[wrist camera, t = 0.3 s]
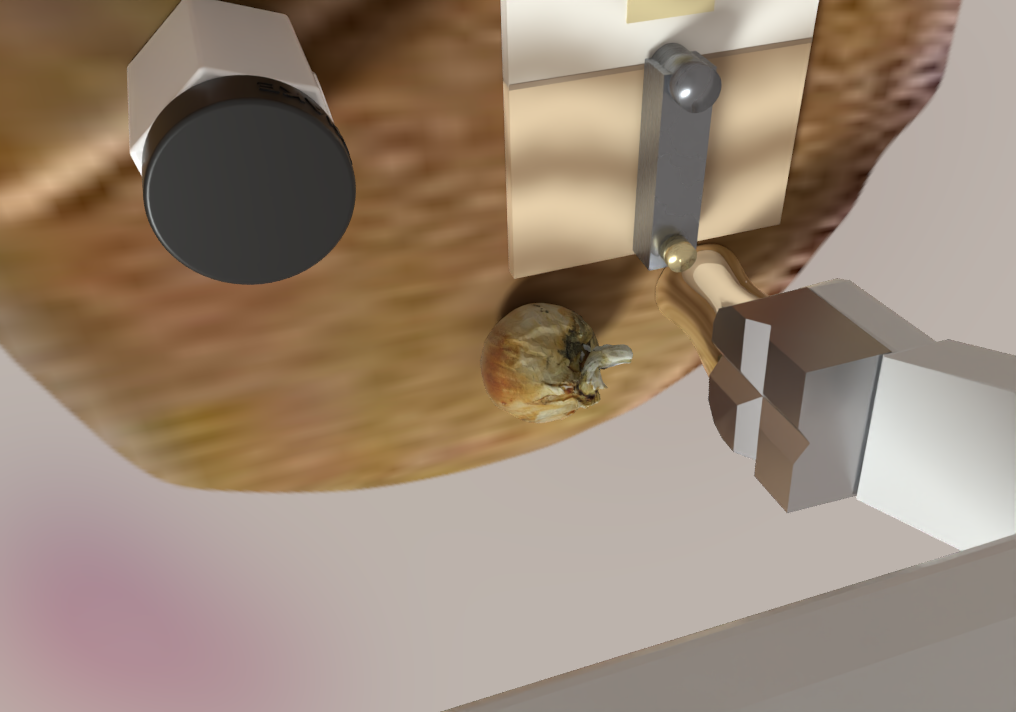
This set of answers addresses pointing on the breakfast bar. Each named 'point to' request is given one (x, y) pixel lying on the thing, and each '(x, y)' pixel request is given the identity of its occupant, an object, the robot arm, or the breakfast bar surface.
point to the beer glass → (704, 296)
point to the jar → (237, 145)
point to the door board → (617, 117)
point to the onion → (545, 363)
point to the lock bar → (673, 155)
